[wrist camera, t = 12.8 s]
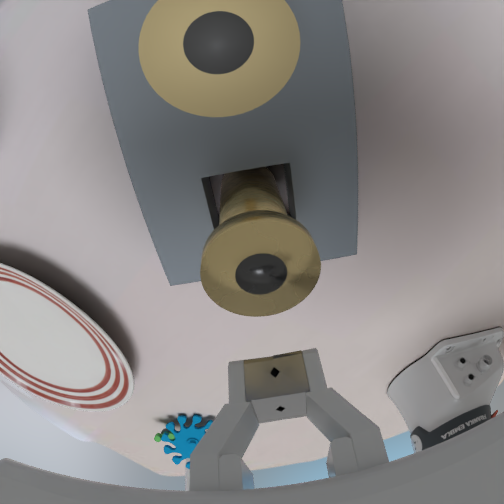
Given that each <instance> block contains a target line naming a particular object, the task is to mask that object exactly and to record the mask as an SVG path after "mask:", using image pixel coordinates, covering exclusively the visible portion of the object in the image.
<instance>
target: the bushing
mask: <svg viewBox="0 0 504 504" xmlns="http://www.w3.org/2000/svg"><path fill="white" fill-rule="evenodd" d="M320 270H321V261H320V256H319V253H318V250H317V247H316V245H315V243H314V240H313V238H312V236H311V234H310V233H309V231H308V230H307V229H306V228H305V227H304V225H303V224H301V223H300V222H299V221H297V220H296V219H294V218H293V217H291V216H289V215H287V213H286V210H285V207H284V204H283V201H282V198H281V195H280V193H279V190H278V187H277V184H276V181H275V179H274V176H273V174H272V173H271V171H270V170H269V169H268V168H267V167H259V168H253V169H247V170H241V171H236V172H230V173H225V175H224V176H223V179H222V182H221V195H220V218H219V226H218V227H217V228H215V229H214V230H213V232H212V233H211V234H210V235H209V237H208V239H207V240H206V242H205V245H204V247H203V251H202V257H201V268H200V277H201V282H202V285H203V287H204V290H205V291H206V293H207V295H208V296H209V297H210V298H211V299H212V300H213V301H214V302H215V303H216V304H217V305H219V306H220V307H222V308H224V309H226V310H228V311H230V312H233V313H235V314H239V315H244V316H255V317H256V316H269V315H273V314H277V313H281V312H283V311H286V310H288V309H290V308H292V307H294V306H296V305H297V304H299V303H300V302H301V301H303V300H304V299H305V298H306V297H307V296H308V295H309V294H310V293H311V291H312V290H313V288H314V287H315V285H316V283H317V281H318V278H319V275H320Z"/></svg>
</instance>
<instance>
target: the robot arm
mask: <svg viewBox="0 0 504 504" xmlns="http://www.w3.org/2000/svg"><path fill="white" fill-rule="evenodd" d="M503 335H504V333H503V330H502V328H501V327H499V328H495V329H491V330H487V331H483V332H479V333H475V334H470V335H466V336H461V337H457V338H452V339H447V340H443V341H441V342H440V343H438V344H437V345H436V346H435V347H434V348H433V349H432V350H431V351H430V352H429V353H428V354H427V355H425V356H424V357H423V358H421V359H420V360H418V361H417V362H415V363H414V364H412V365H411V366H409V367H408V368H407V369H405V370H404V371H403V372H402V373H401V374H400V375H398V376H397V377H396V378H395V380H394V381H393V382H392V383H391V385H390V386H389V388H388V392H387V394H388V397H389V398H390V399H391V400H392V401H393V403H394V404H395V405H396V407H397V408H398V410H399V412H400V413H401V415H402V417H403V418H404V420H405V422H406V424H407V426H408V428H409V431H410V433H411V442H412V446H413V450H414V454H411V455H408V456H406V457H403V458H400V459H397V460H394V461H391V462H389V460H388V457H387V453H386V450H385V446H384V442H383V439H382V436H381V432H380V429H379V427H378V426H377V425H376V424H375V423H373V422H372V421H371V420H370V419H368V418H367V417H366V416H365V415H364V414H362V413H361V412H360V411H359V410H357V409H356V408H355V407H354V406H353V405H351V404H350V403H349V402H348V401H347V400H346V399H344V398H343V397H342V396H341V395H340V394H338V393H337V392H336V391H335V390H334V389H333V388H327V385H326V381H325V377H324V373H323V369H322V365H321V362H320V358H319V354H318V350H317V349H316V348H313V349H309V350H304V351H296V352H291V353H285V354H280V355H274V356H271V357H264V358H256V359H248V360H239V361H232V362H229V365H228V380H229V404H225V405H224V406H223V408H222V409H221V411H220V412H219V414H218V415H217V417H216V418H215V420H214V421H213V423H212V424H211V426H210V427H209V429H208V430H207V431H206V433H205V434H204V436H203V437H202V439H201V440H200V442H199V443H198V444H197V446H196V447H195V449H194V450H193V452H192V453H191V454H190V486H189V491H174V490H173V491H172V490H157V489H145V488H135V487H126V486H119V485H112V484H105V483H100V482H94V481H89V480H84V479H79V478H74V477H70V476H66V475H61V474H57V473H54V472H50V471H46V470H42V469H39V468H36V467H32V466H29V465H26V464H23V463H20V462H17V461H14V460H11V459H7V458H5V459H2V460H0V504H504V412H502V413H501V414H499V415H497V416H496V414H497V412H498V410H496V411H495V412H494V413H493V414H492V415H491V408H490V402H491V400H492V398H493V395H494V393H495V391H496V388H497V386H498V383H499V381H500V379H501V376H502V373H503V370H504V363H503V359H502V356H501V353H500V351H499V347H500V345H501V342H502V340H503ZM303 416H307V418H308V419H309V420H310V421H311V422H312V423H313V424H314V425H315V426H316V427H317V428H318V429H319V430H320V431H321V432H322V433H323V434H324V436H325V437H326V438H327V439H328V440H329V441H330V442H331V443H330V447H329V453H328V458H327V463H326V464H327V469H328V475H329V478H326V479H321V480H316V481H310V482H304V483H298V484H291V485H284V486H277V487H268V488H259V489H254V481H253V474H252V472H251V471H250V470H249V468H248V467H247V465H246V464H245V463H244V461H243V460H242V457H243V455H244V453H245V451H246V449H247V447H248V445H249V444H250V442H251V440H252V438H253V436H254V434H255V432H256V430H257V428H258V426H259V423H264V422H271V421H277V420H283V419H290V418H297V417H303Z"/></svg>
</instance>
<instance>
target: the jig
mask: <svg viewBox="0 0 504 504" xmlns="http://www.w3.org/2000/svg"><path fill="white" fill-rule="evenodd" d="M88 15H89V20H90V26H91V31H92V36H93V41H94V46H95V50H96V55H97V59H98V64H99V68H100V72H101V77H102V81H103V85H104V89H105V93H106V97H107V101H108V104H109V108H110V112H111V115H112V119H113V123H114V126H115V130H116V133H117V136H118V140H119V143H120V147H121V150H122V153H123V156H124V160H125V163H126V166H127V169H128V172H129V175H130V178H131V181H132V184H133V187H134V190H135V193H136V196H137V199H138V202H139V205H140V208H141V211H142V213H143V216H144V219H145V222H146V224H147V227H148V230H149V233H150V235H151V238H152V241H153V243H154V246H155V248H156V251H157V254H158V256H159V259H160V261H161V264H162V266H163V269H164V271H165V274H166V276H167V279H168V281H169V283H170V286H172V285H178V284H185V283H191V282H198V281H201V277H200V268H201V257H202V251H203V247H204V245H205V242H206V240H207V239H208V237H209V235H210V234H211V233H212V232H213V230H214V229H215V228H217V227H218V226H219V217H218V213H217V209H216V205H215V201H214V196H213V192H212V188H211V184H210V180H209V176H214V175H220V174H225V173H230V172H236V171H241V170H247V169H253V168H259V167H265V166H271V165H278V164H284V171H285V179H286V187H287V196H288V204H289V213H290V214H287V215H289V216H291V217H293V218H294V219H296V220H297V221H299V222H300V223H301V224H303V225H304V227H305V228H306V229H307V230H308V231H309V233H310V234H311V236H312V238H313V240H314V243H315V245H316V247H317V250H318V253H319V256H320V261H323V260H329V259H334V258H340V257H345V256H351V255H356V254H357V235H358V157H357V132H356V115H355V101H354V89H353V78H352V69H351V60H350V51H349V44H348V36H347V29H346V23H345V16H344V10H343V4H342V0H110V1H107V2H105V3H102V4H100V5H98V6H95V7H93V8H91V9H88Z"/></svg>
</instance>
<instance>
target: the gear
mask: <svg viewBox="0 0 504 504" xmlns="http://www.w3.org/2000/svg"><path fill="white" fill-rule="evenodd" d="M186 419H187V417H186V416H184V415H181V416H178V418H177V420H178V422H179V423H180V426H181V430H180V431H176V430H175V424H174V422H169V423H168V424H166V429H163V430H162V432H161V434H160V433H157V434H156V436H155V437H154V439H155V441H157V442H159V441H161V440H162V441H166V442H170V443H172V444H173V445H175V446H176V448H172V447H171V446H169V445H165V447H164V452H165V453H166V454H169V453H172V452H176V453H180V454H182V456H174V457H173V459H172V460H173V462H174V463H175V464H179V463H180V462H181V461H182V460H183V459H186V458H190V454H191V453H192V452H193V450H194V449H195V447H196V446H197V444H198V443H199V442H200V440H201V439H202V437H203V436H204V434H205V433H206V431H205V429H209V427H210V426H211V424H212V423H213V421H212V420H209V421H208V422H207V424H206V425H204V426H202V427H199V428H198V427H196V426H195V424H197V423H200V422H201V419H202V417H201V416H199V415H196V414H195V415H194V416H193V423H192V424H191V425H190V426H189V427H185V426H184V423H185V422H186ZM186 468H188V469H190V461H189V462H187V463H186Z"/></svg>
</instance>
